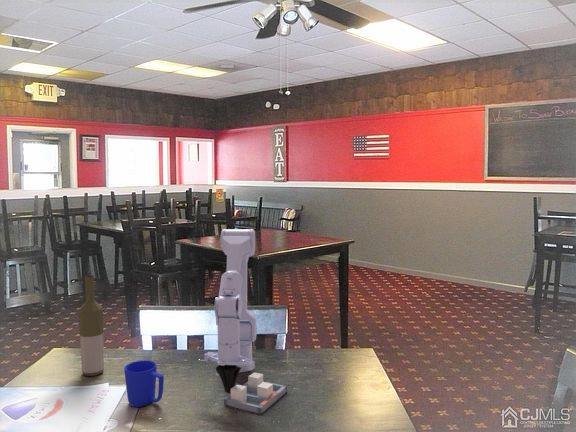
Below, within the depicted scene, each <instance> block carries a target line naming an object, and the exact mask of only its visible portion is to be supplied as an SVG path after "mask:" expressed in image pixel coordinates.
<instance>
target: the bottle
mask: <svg viewBox="0 0 576 432" xmlns="http://www.w3.org/2000/svg"><path fill="white" fill-rule="evenodd" d="M84 285H85V286H84V287H85V289H84V290H85V291H84V292H85V301H84V303H83V304H82V305H81V307H80V308H79V309H78V324H79V325H78V328H79V342H80V343H79V345H80V358H81V360H80V361H81V373H82V375H83V376H89V377H93V376H97V375H101V374H102V373H104V370H105V363H104V362H105V360H104V358H105V357H104V348H105V347H104V309H103V306H102V305H100V303H99V302H98V301H96V299H95V298H96V297H95V296H96V295H95V275H93V274H92V275H91V274H90V275H89V274H88V275H85V276H84Z"/></svg>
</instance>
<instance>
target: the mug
mask: <svg viewBox="0 0 576 432" xmlns="http://www.w3.org/2000/svg"><path fill="white" fill-rule="evenodd" d="M157 366H158V365H157V363H156V362H154V361H152V360H145V359H144V360H137V361H132V362H130V363H128V364H126V365H125V366H124V367H123V370H124V378H125V380H124V381H125V386H126V395H127V401H128V403H129V405H130V406H132V407H135V408H142V407H147V406H149V405H151V404H152V403H157V402H159V401H161V400H162V397H163V393H164V380H165V376H164V374H162V373H160V372H157ZM157 378H158V391H157V392H158V394H157V398H156V386H157V383H156V382H157V381H156V380H157Z"/></svg>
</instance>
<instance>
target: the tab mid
mask: <svg viewBox="0 0 576 432" xmlns="http://www.w3.org/2000/svg"><path fill="white" fill-rule="evenodd" d="M265 382H266V381H265ZM265 382H262V383H261V384H260V385H258V386H257V396H258V397H262V398H266V399H268V398H269V396H271V395H272V394H273V384H270V383H271V382H269V383H265Z"/></svg>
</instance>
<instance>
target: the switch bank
mask: <svg viewBox="0 0 576 432" xmlns="http://www.w3.org/2000/svg"><path fill="white" fill-rule="evenodd" d="M263 382H265V383H270V384H273V394H272V395H271V396H269V398H268V399H266V398H262V397H258V396H257V388H256V387H251V386H248V381H246V382H244V384H243V385H242V386H246V387H247V402H241V401H237V400H233V399H231V393H229V395H227V396H226V397H225V398H223V404H224V406H229V407H233V408H236V409H240V410H244V411H248V412H252V413H257V414H263V413H264V412H265V411H266V410H267V409H269V407H271V406H272V405H274V404H275V402H277V401H278V400H279V399H281V397H282V396H283V395H285V394H286V393H287V392H288V391H287V390H288V389H287V388H288V386H287V385H282V384H277V383H275V382H269V381H264V380H263Z"/></svg>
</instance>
